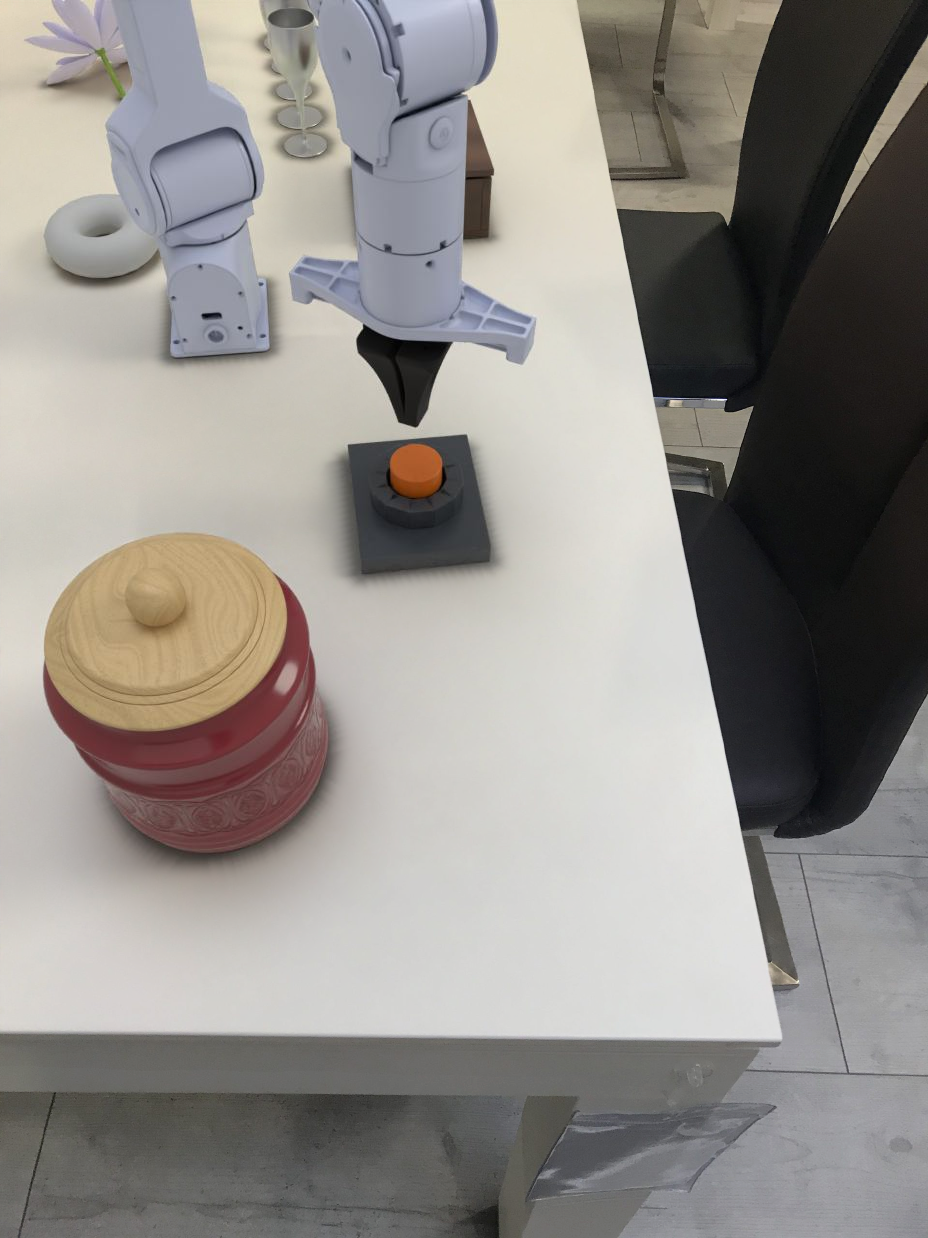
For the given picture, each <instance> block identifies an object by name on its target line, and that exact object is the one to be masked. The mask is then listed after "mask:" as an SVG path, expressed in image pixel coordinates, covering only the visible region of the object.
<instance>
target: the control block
mask: <svg viewBox="0 0 928 1238" xmlns="http://www.w3.org/2000/svg"><path fill="white" fill-rule="evenodd" d="M410 444H421V445H426V446H429V447H431V448H433V449H434V450H435V451H437V453H438V454H439V455H440V457H441V459H442V483H441V485H440V487H439V489H438V490H437V491H436V492H435V493H433V494H432V495H430V496H428V497H424V498H408V497H405V496H403V495H401V494H399V493H398V492H397V491H396V490H395V489H394V488H393V486H392V484H391V477H390V459H391V457H392V455H393V454H394V452H395V451H397V450H398V449H399V448H401V447H403V446H406V445H410ZM347 454H348V462H349V463H348V464H349V472H350V480H351V489H352V491H351V492H352V498H353V499H352V500H353V508H354V509H353V510H354V517H355V525H356V526H355V527H356V534H357V535H356V536H357V544H358V553H359V561H360V571H361V575H371V574H372V575H373V574H381V573H391V572H401V571H410V570H420V569H428V568H429V569H430V568H439V567H450V566H460V565H470V564H471V565H472V564H478V563H488V562H491V553H492V545H491V544H492V543H491V540H490V536H489V530H488V526H487V521H486V517H485V512H484V507H483V502H482V497H481V493H480V488H479V485H478V484H479V483H478V481H477V480H478V479H477V475H476V471H475V466H474V465H475V464H474V461H473V455H472V452H471V446H470V442H469V437H468V434H466V433H464V434H453V435H441V436H432V437H431V436H428V437H418V438H408V439H394V440H384V441H373V442H360V443H348V444H347Z"/></svg>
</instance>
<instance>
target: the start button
mask: <svg viewBox="0 0 928 1238" xmlns="http://www.w3.org/2000/svg"><path fill="white" fill-rule="evenodd" d="M390 477H391V484H392V486H393V488H394V489H395V490H396V491H397V492H398V493H399V494H401V495H403V496H405V497H408V498H424V497H428V496H430V495H432V494H433V493H435V492H436V491H437V490H438V489H439V487H440V485H441V483H442V459H441V457H440V455H439V454H438V453H437V451H435V450H434V449H433V448H431V447H429V446H426V445H421V444H410V445H406V446H403V447H401V448H399V449H398V450H397V451H395V452H394V454H393V455H392V457H391V459H390Z"/></svg>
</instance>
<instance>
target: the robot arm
mask: <svg viewBox="0 0 928 1238" xmlns="http://www.w3.org/2000/svg"><path fill="white" fill-rule="evenodd" d="M304 1H305V3H306V4H307V6H308V7H309V9H310V10H311V12H312V13H313V15H314V18H315V20H316V22H317V23H318V25H316V26H315V27H314V33H315V40H316V45H317V50H318V54H319V57H318V59H319V60H320V65H321V68H322V71H323V73H324V76H325V78H326V81H327V84H328V86H329V89H330V91H331V94H332V98H333V103H334V108H335V118H336V119H335V120H336V128H337V129H338V130H339V133H340V138H341V141H342V142H343V144H345V145H346V146H347V147H348V148H349V150H350V163H351V166H350V167H351V179H352V194H353V206H354V207H353V208H354V222H355V234H356V235H355V236H356V237H355V238H356V250H357V251H356V252H357V260H353V259H352V260H351V259H333V258H332V259H330V258H322V257H316V256H311V255H306V254H303V255H302V256H301V258H300V259H299V260H298V261H297V262H296V264H294V266H293V267H292V269H291V270H290V271H289V272H288V277H289V285H290V291H291V299H292V301H293V302H295V303H299V304H303V305H309V304H311V303H312V302H313V300H316V301H320V302H323V303H326V304H330V305H332V306H334V307H336V308H338V310H341V311H342V312H344V313H346V315H348V316H350V317H352V318H353V319H355V320H357V321H358V322H360V323H362V329H361V331H359V333H358V335H357V337H356V339H355V344H356V350H357V354H358V355H359V356H360V357H361V358H363V360H365V362H366V363H367V364H368V365H369V367H371V369H372V370H373V372H374V373H375V375H376V376H377V377H378V379H379V381H380V382H381V384H382V386H383V388H384V390H385V392H386V394H387V397H388V399H389V401H390V403H391V406H392V409H393V412H394V414H395V417H396V420H397V423H399V424H401V425H405V426H408V427H412V428H419V426H420V424H421V422H422V420H423V419H424V417H425V415H426V414H427V412H428V411H429V407H430V401H431V396H432V391H433V388H434V386H435V382H436V379H437V376H438V374H439V371H440V369H441V367H442V364H443V362H444V360H445V359H446V356H447V354H448V352H449V351H450V348H451V347H452V345H453V343H471V344H474V345H478V346H480V347H484V348H488V349H492V350H495V351H499V352H503V353H505V360H506V361H508V362H510V363H513V364H517V365H520V366H522V365H524V364H525V361H526V360H527V359H528V356H529V354H530V352H531V350H532V348H533V346H534V342H535V333H536V326H537V325H536V324H537V317H536V316H533V315H531V314H527V313H523V312H521V311H519V310H516V309H514V308H512V307H511V306H508V305H506V304H504V303H502V302H501V301H499V300H497V299H495V298H493V297H492V296H490V295H488V294H487V293H485V292H483V291H481V290H479V289H478V288H476V287H474V286H472V284H469V283H468V282H466V281H464V280H463V279H462V277H463V275H462V274H463V253H464V252H463V251H464V249H463V248H464V239H463V224H464V196H465V168H466V142H467V113H468V100H469V95H468V94H464V93H465V92H468V91H470V90H471V89H472V88H473V87H476V86H479V85H480V84H483V82H484V81H485V80H487V78H488V77H489V75H490V74H491V72H492V70H493V68H494V66H495V62H496V58H497V53H498V46H499V25H498V15H497V10H496V6H495V1H494V0H304ZM111 2H112V6H113V9H114V13H115V17H116V20H117V24H118V28H119V31H120V35H121V39H122V42H123V44H122V47H124V50H125V53H126V57H127V64H128V68H129V72H130V76H131V79H132V85H131V86H130V88H129V89H128V91H127V92H126V93H125V94H126V95H125V96H124V98H123V99H121V100H120V102H119V103H118V104H117V105H116V107H115V108H114V109H113V111H112V113H111V114H110V115H109V117H107V120H106V121H105V124H104V128H105V130H106V139H107V143H108V147H109V152H110V168H111V175H112V178H113V181H114V185H115V187H116V191H117V193H118V195H120V197H121V200H122V202H123V204H124V206H125V207H126V209H127V211H128V213H129V214H130V216H131V218H132V219H133V221H134V222H135V223H136V224H137V226H138V227H139V228H140V229H141V230H143V231H144V232H146V233H148V234H149V235H151V236H153V237H156V240H157V244H158V251H159V255H160V259H161V262H162V267H163V270H164V273H165V277H166V295H167V299H168V303H169V306H170V310H171V324H170V325H171V326H170V347H169V348H170V355H171V357H173V358H191V357H203V356H215V355H216V356H217V355H218V356H219V355H230V354H243V353H257V352H258V353H259V352H266V351H268V350H269V349H270V347H271V345H270V328H269V327H270V326H269V308H268V307H269V306H268V288H267V287H268V286H267V279H266V278H264V277H258V273H257V268H256V262H255V256H254V249H253V246H252V245H253V244H252V240H251V233H250V228H249V222H248V219H249V218H250V217H252V216H254V215H255V210H254V203H253V201H255V200H257V199H259V198H260V197H261V195H262V194H263V189H264V183H265V170H264V169H265V168H264V163H263V160H262V155H261V153H260V150H259V147H258V145H257V142H256V140H255V138H254V136H253V133H252V130H251V126H250V122H249V119H248V116H247V112H246V109H245V107H244V106H243V105H242V103H241V102H240V101H239V100H238V98H236V97H235V95H233V93H232V92H230V91H229V90H228V89H226V88H225V87H223V86H221V85H220V84H218V83H216V82H213V81H212V80H209V79H208V77H207V72H206V67H205V63H204V58H203V53H202V48H201V44H200V40H199V33H198V30H197V25H196V20H195V15H194V10H193V6H192V1H191V0H111Z"/></svg>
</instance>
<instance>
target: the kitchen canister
mask: <svg viewBox="0 0 928 1238" xmlns="http://www.w3.org/2000/svg"><path fill="white" fill-rule="evenodd" d="M44 632H45V633H44V638H43V656H44V659H43V666H42V686H43V694H44V697H45V702H46V704H47V707H48V710H49V712H50V715H51V716H52V718H53V720H54V721H55V723H56V725H57V726H58V728H59V730H60V731H61V732H62V733H63V734H64V735H65V736H66V737H67V738H68V739H69V741H71V742H72V743H73V745H74V747H75V750H76V751H77V753H78V755H79V756H80V758H81V759H82V761H83V762H84V763H85V764H86V766H87V767H88V768H90V770H91V771H92V773H95V775H97V776H98V777H99V778H100V780H101V781H102V782H103V783H104V786H105V788H106V791H107V793H108V795H109V798H110V799H111V801H112V803H113V804H114V806H115V808H117V809H118V811H120V813H121V814H122V816H123V817H124V818H125V819H126V821H127V822H129V823H130V824H131V825H132V826H133V827H134V828H135V829H137V830H138V831H139V832H141V833H142V834H144V835H145V836H147V837H149V838H150V839H153V840H154V841H157V842H159V843H161V844H163V845H165V846H168V847H171V848H173V849H176V850H181V851H184V852H191V853H200V854H211V853H212V854H214V853H216V854H217V853H224V852H230V851H235V850H238V849H242V848H245V847H248V846H251V845H253V844H256V843H259V842H260V841H262V840H265V839H266V838H268V837H269V836H271V835H273V834H275V833H276V832H278V831H279V830H280V829H281V828H283V827H284V826H285V825H287V824H288V823H289V822H290V821H292V820H293V818H295V817H296V816H297V814H298V813H300V812H301V810H302V809H303V808H304V807H305V805H306V804H307V802H308V801H309V800H310V798H311V797H312V795H313V793H314V791H315V790H316V788H317V786H318V784H319V781H320V779H321V776H322V774H323V770H324V766H325V763H326V758H327V753H328V747H329V726H328V719H327V713H326V709H325V707H324V706H325V705H324V703H323V699H322V697H321V695H320V692H319V691H318V686H317V669H316V662H315V657H314V653H313V649H312V646H311V640H310V639H311V638H310V637H311V636H310V628H309V623H308V620H307V616H306V613H305V610H304V608H303V605H302V604H301V602H300V600H299V599H298V597H297V596H296V594H295V593H294V591H293V590H292V589H291V587H290V586H289V585H288V584H287V583H286V582H285V581H284V580H283V579H282V578H281V577H280V576H279V575H278V574H277V573H276V572H274V571H273V570H272V569H271V568H270V567H269V566H268V565H267V563H266V562H264V560H263V559H262V558H260V557H259V556H258V555H256V554H255V553H254V552H253V551H251V550H250V549H248V548H246V547H245V546H243V545H242V544H239V543H237V542H235V541H233V540H229V539H227V538H224V537H220V536H216V535H213V534H207V533H199V532H168V533H161V534H155V535H150V536H146V537H142V538H138V539H136V540H133V541H130V542H128V543H125V544H122V545H120V546H118V547H116V548H114V549H112V550H110V551H108V552H106V553H105V554H103V555H101V556H100V557H98V558H97V559H95V560H94V561H92V562H91V563H90V564H88V565H87V566H86V567H85V568H83V569H82V570H81V571H80V572H78V574H77V575H76V576H75V577H74V578H73V579H72V580H71V581H70V582H69V584H67V586H66V587H65V589H64V590H63V591H62V592H61V594H60V595H59V596H58V598H57V600H56V602H55V604H54V606H53V608H52V610H51V612H50V614H49V617H48V620H47V623H46V626H45V630H44Z"/></svg>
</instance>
